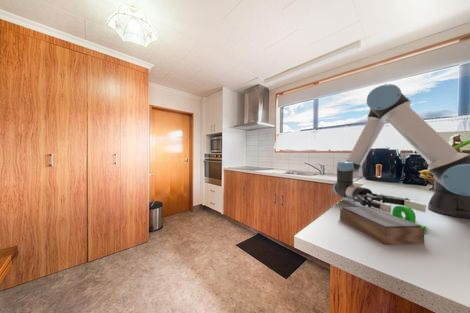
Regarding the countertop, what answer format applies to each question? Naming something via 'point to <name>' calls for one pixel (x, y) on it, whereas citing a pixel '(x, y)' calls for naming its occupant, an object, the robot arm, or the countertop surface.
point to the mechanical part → (406, 214)
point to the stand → (382, 225)
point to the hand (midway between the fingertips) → (407, 208)
